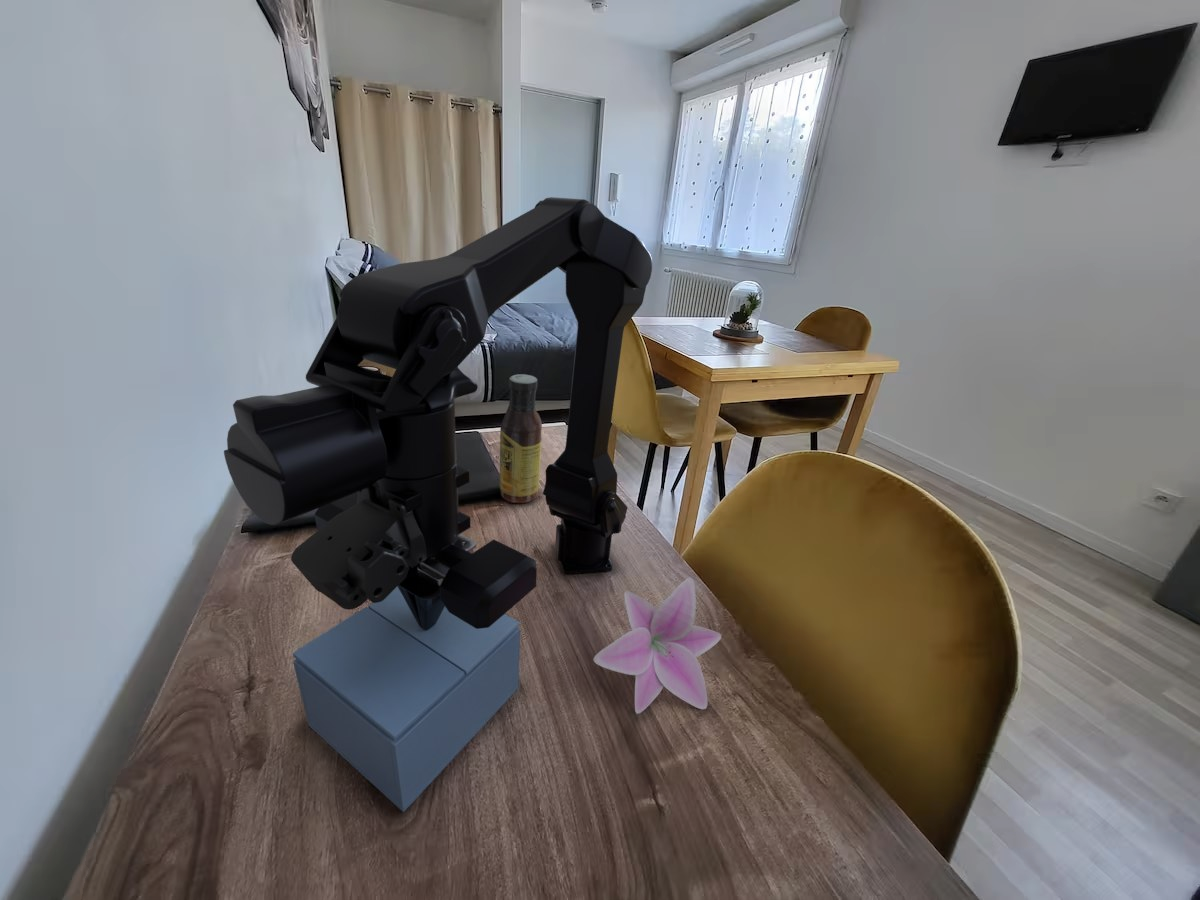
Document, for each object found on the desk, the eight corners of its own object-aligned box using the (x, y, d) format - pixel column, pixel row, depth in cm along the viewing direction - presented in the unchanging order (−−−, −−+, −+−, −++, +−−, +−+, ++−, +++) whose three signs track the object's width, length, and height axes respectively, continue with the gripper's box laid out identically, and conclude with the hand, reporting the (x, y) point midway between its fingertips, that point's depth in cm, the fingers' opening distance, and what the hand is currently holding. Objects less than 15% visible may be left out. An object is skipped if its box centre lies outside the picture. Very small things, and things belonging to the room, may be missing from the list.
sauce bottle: (497, 487, 80) (497, 370, 72) (534, 485, 82) (539, 370, 74) (502, 508, 74) (503, 383, 66) (542, 505, 76) (548, 383, 68)
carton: (430, 631, 51) (425, 568, 48) (518, 688, 46) (520, 621, 42) (307, 725, 41) (290, 653, 37) (403, 812, 36) (393, 738, 32)
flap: (425, 571, 48) (425, 568, 48) (519, 625, 43) (519, 622, 42) (368, 609, 43) (367, 605, 43) (466, 675, 38) (466, 671, 37)
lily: (569, 695, 47) (598, 672, 40) (605, 587, 55) (634, 552, 47) (681, 744, 47) (730, 730, 40) (701, 630, 55) (745, 601, 48)
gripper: (221, 460, 32) (266, 634, 39) (410, 569, 24) (428, 768, 31) (370, 417, 41) (387, 565, 48) (545, 486, 33) (537, 654, 40)
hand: (427, 626), depth 41 cm, fingers closed, pressing on flap
